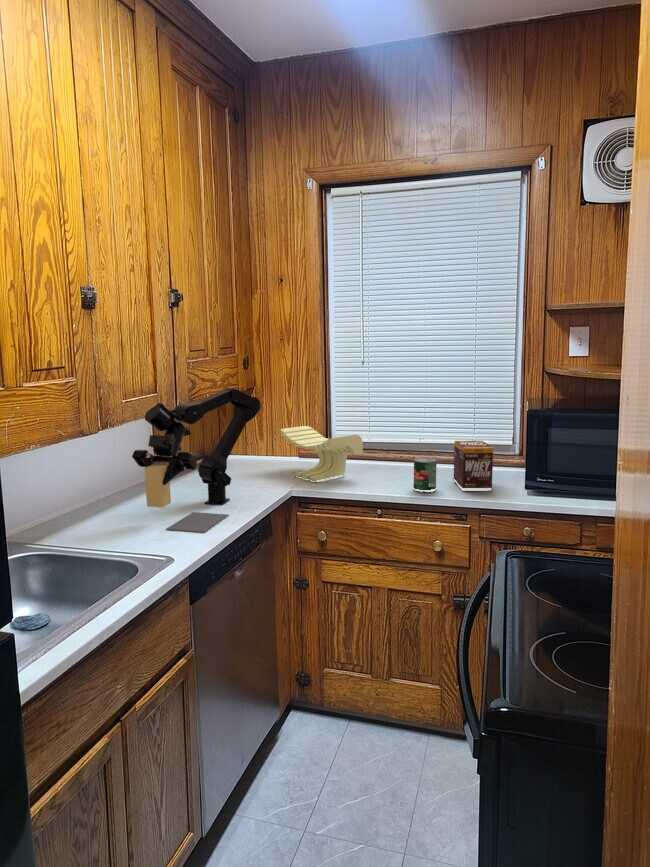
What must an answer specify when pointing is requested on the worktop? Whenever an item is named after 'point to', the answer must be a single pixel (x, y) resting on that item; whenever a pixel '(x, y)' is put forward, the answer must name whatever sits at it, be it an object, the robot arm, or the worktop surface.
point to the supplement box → (473, 464)
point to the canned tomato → (425, 473)
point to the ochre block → (157, 486)
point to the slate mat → (197, 522)
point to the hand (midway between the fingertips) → (155, 483)
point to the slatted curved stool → (324, 451)
